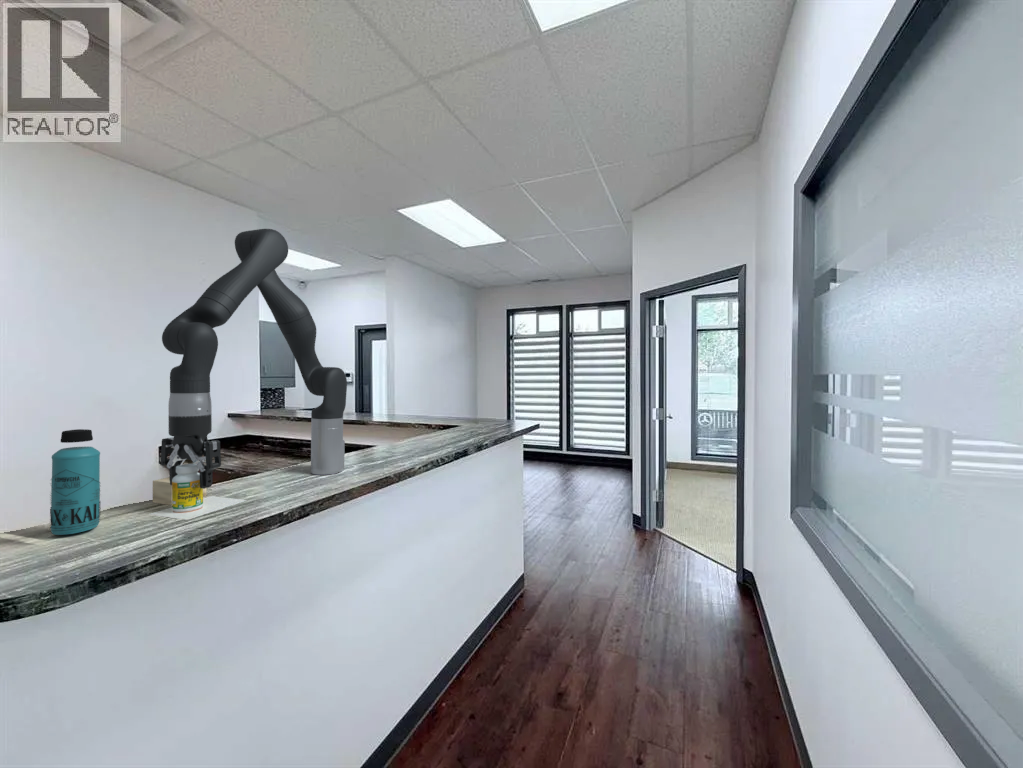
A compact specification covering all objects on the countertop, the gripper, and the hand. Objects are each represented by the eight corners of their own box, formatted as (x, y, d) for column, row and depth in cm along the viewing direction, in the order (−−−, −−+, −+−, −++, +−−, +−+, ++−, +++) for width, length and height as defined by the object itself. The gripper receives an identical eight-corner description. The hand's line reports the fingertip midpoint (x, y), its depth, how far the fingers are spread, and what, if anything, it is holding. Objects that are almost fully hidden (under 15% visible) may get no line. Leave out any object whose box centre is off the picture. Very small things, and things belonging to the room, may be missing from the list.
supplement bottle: (201, 503, 95) (201, 461, 94) (204, 509, 91) (204, 465, 91) (170, 508, 91) (170, 465, 91) (173, 514, 87) (173, 469, 87)
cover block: (188, 497, 103) (188, 473, 103) (206, 499, 101) (206, 475, 101) (152, 506, 95) (152, 480, 95) (171, 509, 93) (171, 483, 93)
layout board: (211, 499, 101) (211, 495, 101) (247, 503, 98) (247, 500, 98) (147, 518, 87) (147, 514, 87) (187, 523, 84) (187, 519, 84)
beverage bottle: (53, 535, 77) (53, 428, 77) (103, 527, 81) (103, 426, 81) (45, 546, 72) (45, 433, 72) (99, 537, 76) (99, 430, 76)
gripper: (231, 413, 93) (231, 484, 93) (183, 410, 96) (183, 479, 97) (198, 416, 86) (198, 493, 86) (147, 413, 89) (148, 487, 90)
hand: (190, 486), depth 91 cm, fingers open, 8 cm apart
